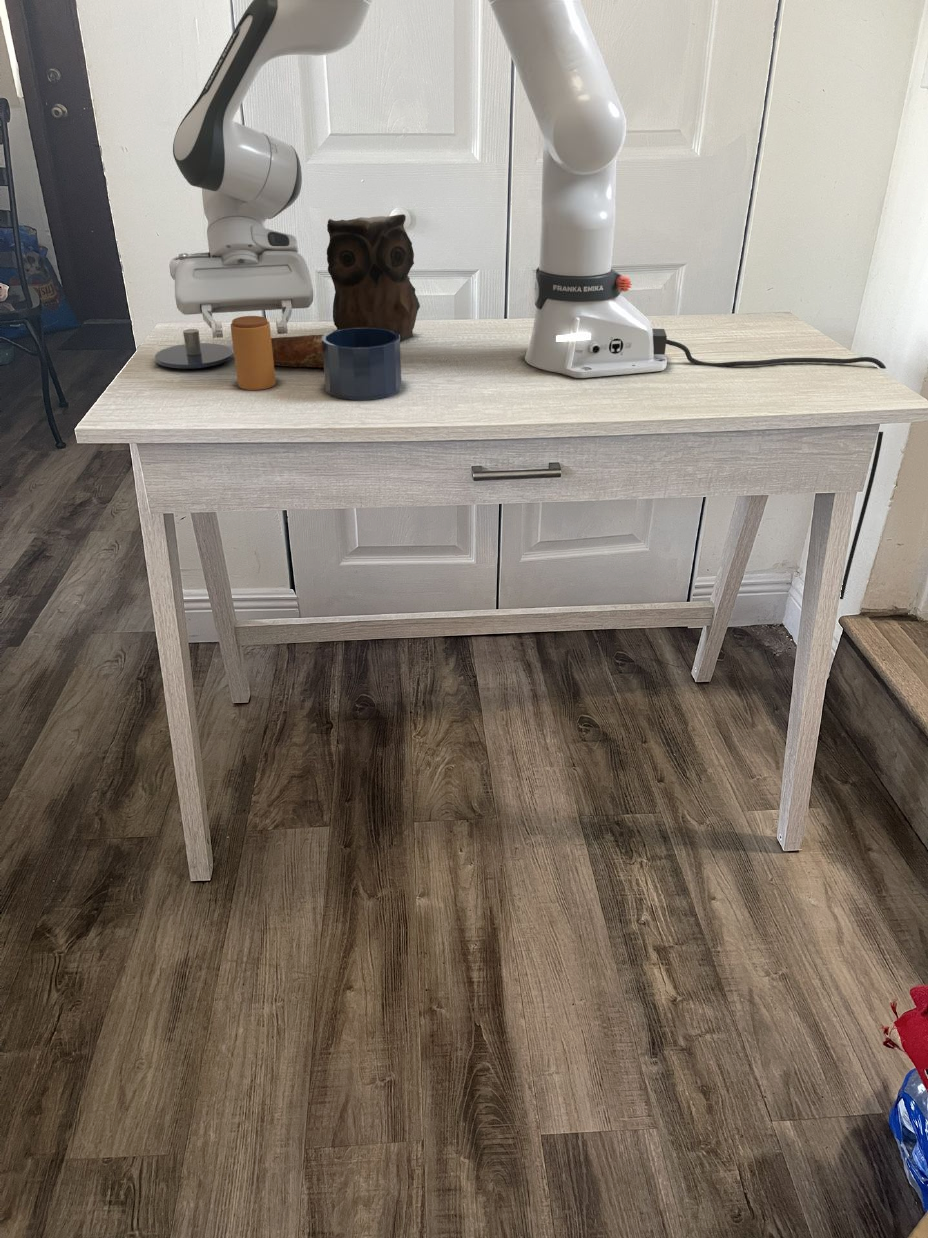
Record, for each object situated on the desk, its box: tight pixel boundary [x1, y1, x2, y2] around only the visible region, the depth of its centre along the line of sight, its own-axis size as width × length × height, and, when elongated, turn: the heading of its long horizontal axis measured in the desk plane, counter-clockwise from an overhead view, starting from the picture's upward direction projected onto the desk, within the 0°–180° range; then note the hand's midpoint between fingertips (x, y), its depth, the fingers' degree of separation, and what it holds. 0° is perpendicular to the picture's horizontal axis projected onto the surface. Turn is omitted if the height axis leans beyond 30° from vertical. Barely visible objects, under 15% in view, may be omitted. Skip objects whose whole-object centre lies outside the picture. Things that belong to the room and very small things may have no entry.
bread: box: [271, 333, 326, 369], centre depth 148 cm, size 6×19×6 cm, turn 80°
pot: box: [322, 327, 402, 401], centre depth 138 cm, size 11×11×8 cm
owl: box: [326, 213, 421, 342], centre depth 158 cm, size 13×13×20 cm
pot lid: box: [154, 328, 234, 370], centre depth 151 cm, size 12×12×5 cm
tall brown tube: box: [229, 315, 277, 391], centre depth 139 cm, size 6×6×10 cm
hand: (250, 333), depth 140 cm, fingers open, 8 cm apart
